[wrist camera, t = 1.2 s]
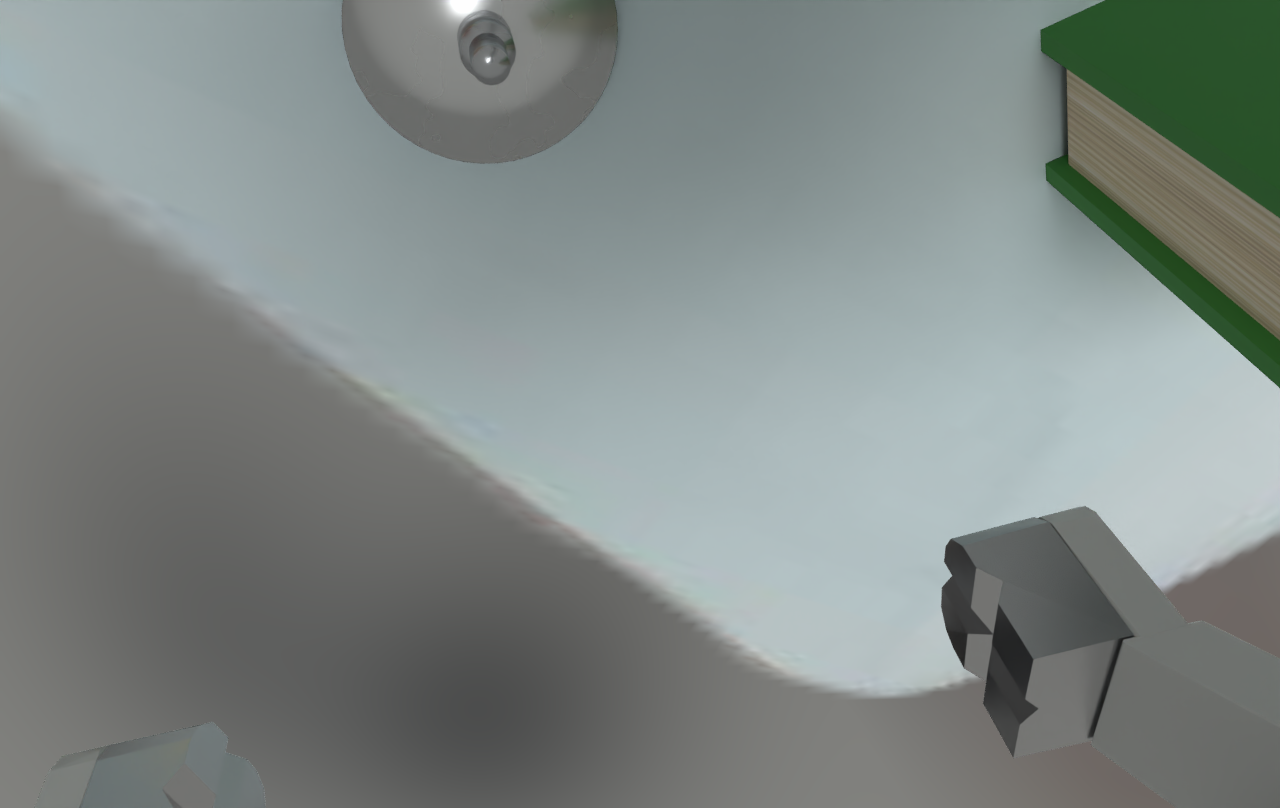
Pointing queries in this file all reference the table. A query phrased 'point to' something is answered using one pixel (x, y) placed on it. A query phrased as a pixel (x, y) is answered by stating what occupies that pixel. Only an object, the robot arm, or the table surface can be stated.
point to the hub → (481, 70)
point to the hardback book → (1182, 151)
